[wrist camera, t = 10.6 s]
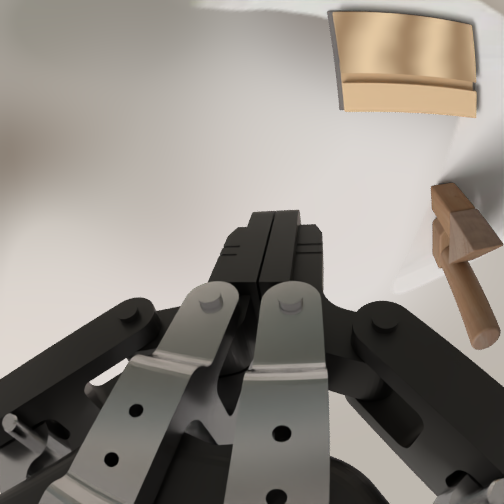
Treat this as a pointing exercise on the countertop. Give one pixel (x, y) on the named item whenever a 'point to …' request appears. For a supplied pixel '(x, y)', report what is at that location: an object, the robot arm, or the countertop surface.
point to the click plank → (404, 45)
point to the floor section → (401, 90)
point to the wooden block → (464, 258)
